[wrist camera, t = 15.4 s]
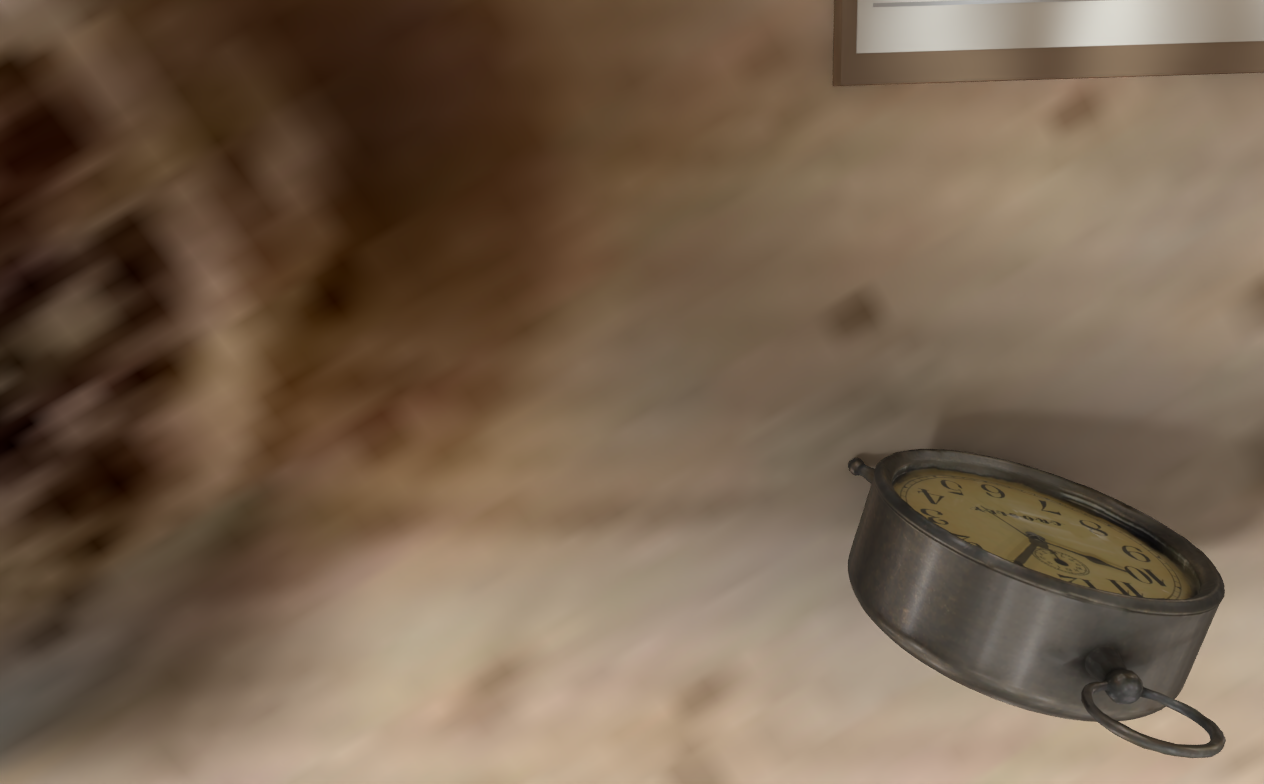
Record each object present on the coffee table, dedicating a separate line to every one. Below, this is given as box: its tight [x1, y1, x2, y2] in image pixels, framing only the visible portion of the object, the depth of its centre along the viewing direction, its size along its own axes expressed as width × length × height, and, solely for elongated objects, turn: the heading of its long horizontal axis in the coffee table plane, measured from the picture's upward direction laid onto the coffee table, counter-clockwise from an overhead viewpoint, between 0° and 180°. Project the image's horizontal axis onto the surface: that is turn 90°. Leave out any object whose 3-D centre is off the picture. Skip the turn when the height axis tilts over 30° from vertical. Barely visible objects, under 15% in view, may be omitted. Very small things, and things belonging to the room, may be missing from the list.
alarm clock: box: [848, 449, 1226, 758], centre depth 33 cm, size 11×5×16 cm, turn 77°
